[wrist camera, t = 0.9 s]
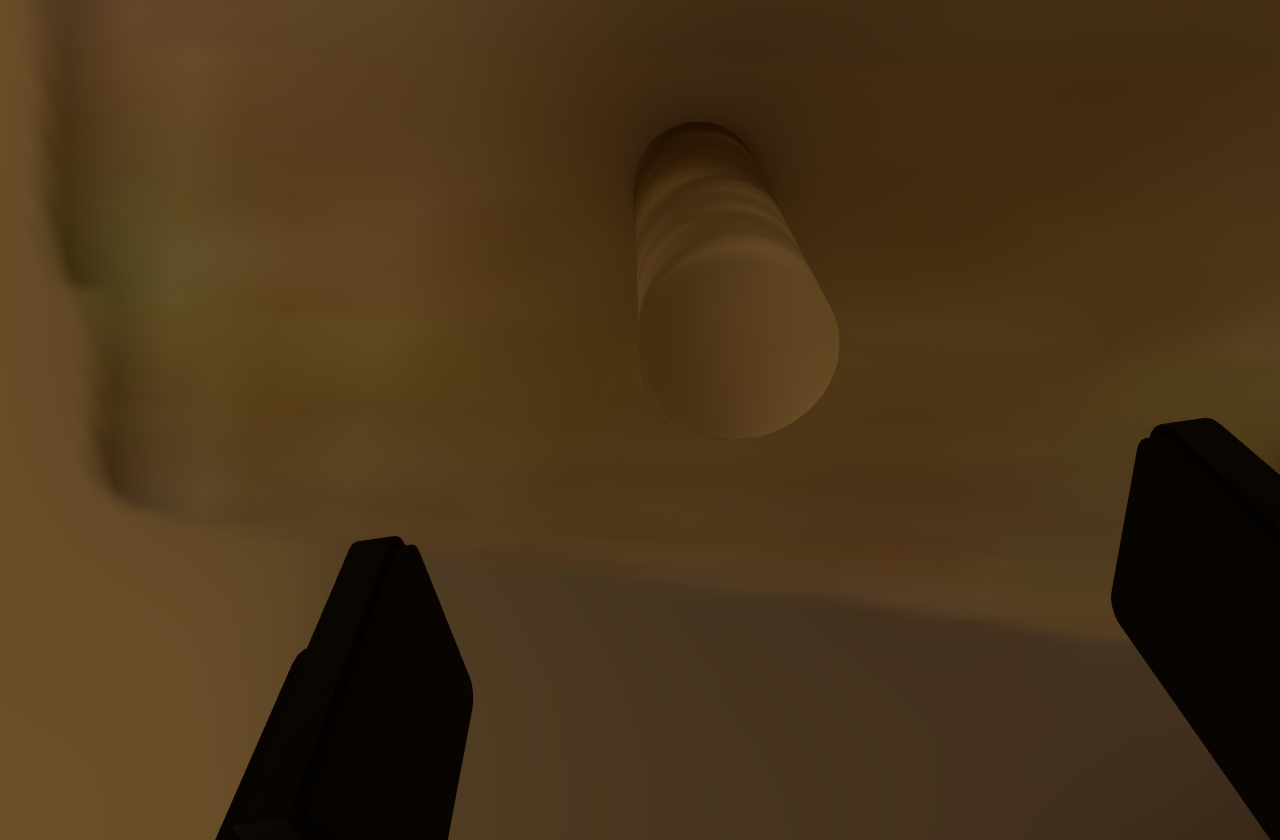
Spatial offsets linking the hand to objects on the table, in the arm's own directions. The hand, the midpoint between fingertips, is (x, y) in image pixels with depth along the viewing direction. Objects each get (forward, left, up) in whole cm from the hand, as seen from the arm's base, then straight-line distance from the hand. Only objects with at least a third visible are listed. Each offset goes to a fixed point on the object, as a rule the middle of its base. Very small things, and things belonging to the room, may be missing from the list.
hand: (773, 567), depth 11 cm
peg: (0, 0, -19) cm, 19 cm away
